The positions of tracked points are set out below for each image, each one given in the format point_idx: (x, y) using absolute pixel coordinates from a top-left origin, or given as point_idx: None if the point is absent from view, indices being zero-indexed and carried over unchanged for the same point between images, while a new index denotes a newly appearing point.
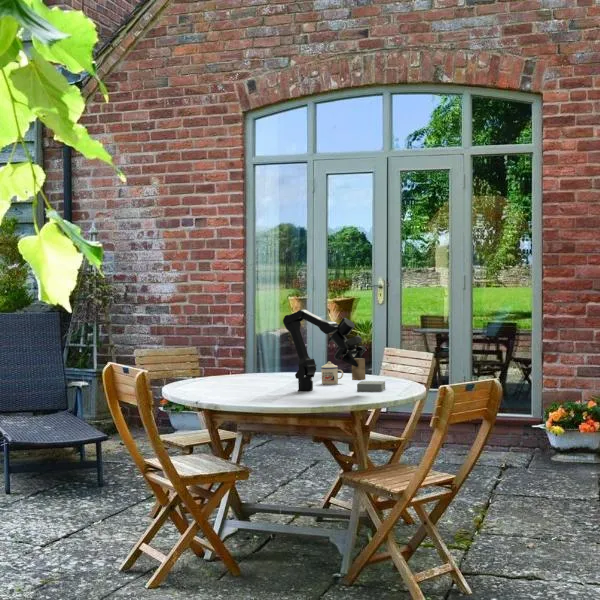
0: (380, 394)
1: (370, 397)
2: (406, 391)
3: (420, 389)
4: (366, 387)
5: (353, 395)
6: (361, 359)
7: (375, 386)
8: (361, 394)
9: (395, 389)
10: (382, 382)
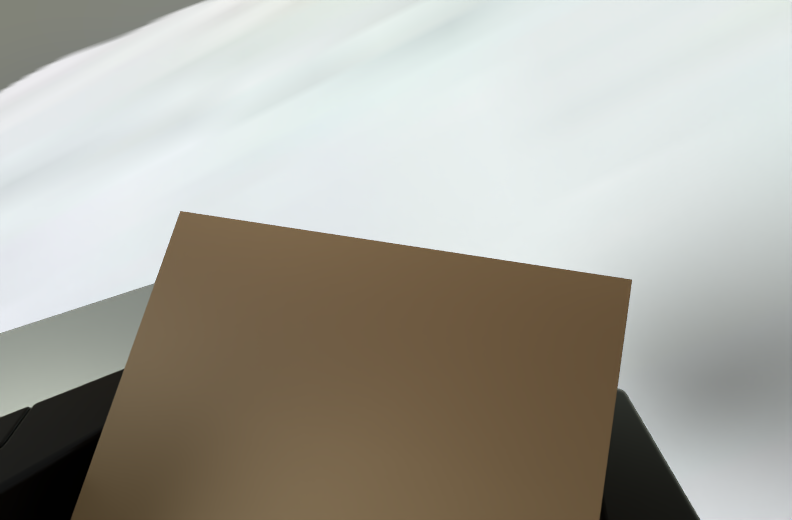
0: (436, 205)
1: (722, 188)
2: (194, 96)
3: (76, 63)
4: None
5: None
6: (424, 257)
7: None
8: None
9: (75, 241)
10: (27, 335)
